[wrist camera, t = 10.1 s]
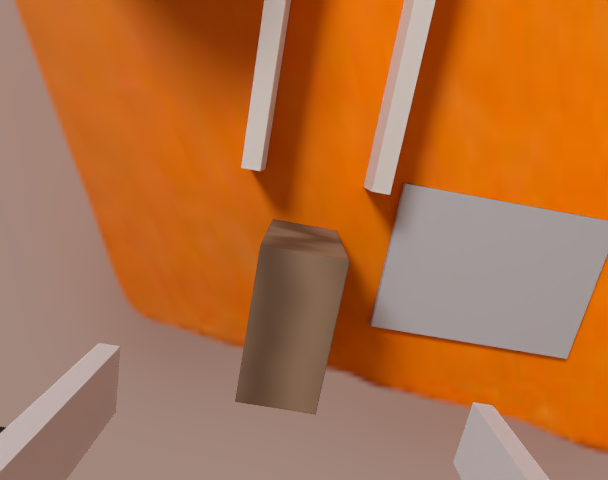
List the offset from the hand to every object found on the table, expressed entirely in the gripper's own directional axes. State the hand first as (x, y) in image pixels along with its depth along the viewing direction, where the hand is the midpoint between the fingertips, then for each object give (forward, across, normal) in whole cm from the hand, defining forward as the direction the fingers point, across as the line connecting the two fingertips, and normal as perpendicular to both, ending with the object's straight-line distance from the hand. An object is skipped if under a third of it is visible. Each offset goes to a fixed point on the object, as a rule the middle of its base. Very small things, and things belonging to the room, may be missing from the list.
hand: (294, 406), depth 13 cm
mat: (+21, -18, -1) cm, 28 cm away
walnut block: (+22, 0, +3) cm, 22 cm away
